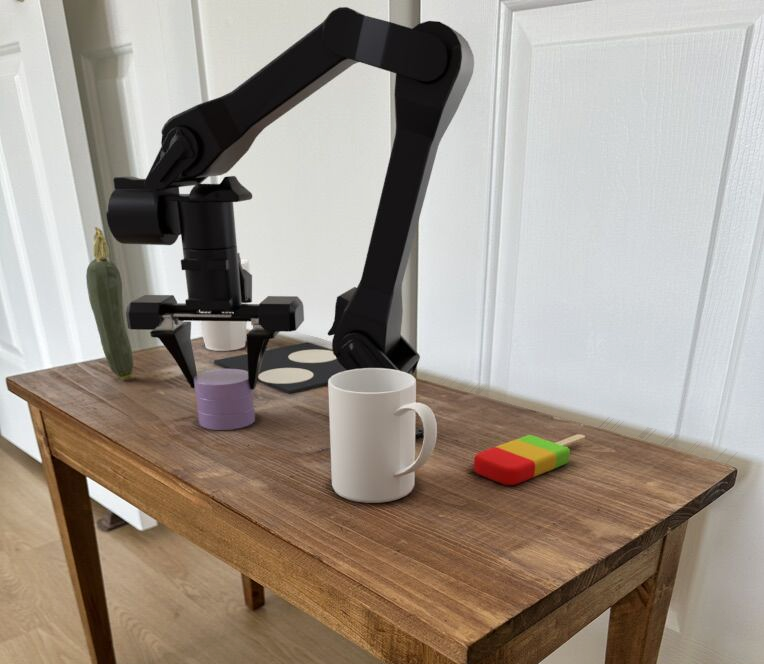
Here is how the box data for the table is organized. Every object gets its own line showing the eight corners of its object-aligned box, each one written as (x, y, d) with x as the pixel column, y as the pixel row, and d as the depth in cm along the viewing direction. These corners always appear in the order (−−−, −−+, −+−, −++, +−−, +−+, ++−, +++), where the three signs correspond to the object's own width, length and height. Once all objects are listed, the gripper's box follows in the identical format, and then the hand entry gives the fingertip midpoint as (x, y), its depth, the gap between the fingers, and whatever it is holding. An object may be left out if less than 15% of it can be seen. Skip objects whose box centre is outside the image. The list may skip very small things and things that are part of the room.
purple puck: (264, 407, 89) (263, 392, 88) (214, 419, 85) (212, 404, 84) (235, 394, 93) (234, 380, 92) (186, 405, 89) (185, 390, 89)
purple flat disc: (266, 421, 89) (264, 407, 89) (216, 434, 86) (214, 419, 85) (237, 408, 94) (235, 394, 93) (188, 419, 90) (186, 405, 89)
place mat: (388, 370, 109) (388, 366, 109) (287, 394, 99) (287, 390, 99) (307, 344, 123) (307, 341, 122) (212, 363, 113) (211, 360, 112)
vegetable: (130, 386, 102) (105, 229, 94) (99, 386, 103) (71, 229, 94) (140, 377, 106) (117, 225, 98) (110, 377, 107) (84, 225, 98)
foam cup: (236, 336, 128) (229, 255, 122) (266, 346, 122) (260, 262, 116) (185, 345, 123) (175, 261, 117) (213, 356, 116) (204, 268, 110)
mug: (315, 484, 73) (310, 378, 69) (380, 464, 78) (379, 363, 73) (395, 529, 65) (396, 412, 60) (462, 504, 69) (468, 393, 64)
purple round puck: (263, 392, 88) (262, 377, 87) (212, 404, 84) (211, 388, 83) (234, 380, 92) (233, 365, 92) (185, 390, 89) (183, 375, 88)
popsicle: (467, 471, 76) (468, 454, 75) (561, 436, 84) (562, 420, 84) (510, 489, 72) (511, 471, 71) (603, 450, 81) (605, 434, 80)
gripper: (308, 238, 88) (314, 370, 94) (151, 237, 89) (169, 367, 96) (290, 251, 78) (298, 397, 84) (113, 250, 79) (136, 394, 86)
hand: (224, 387), depth 88 cm, fingers closed on purple round puck, 6 cm apart
